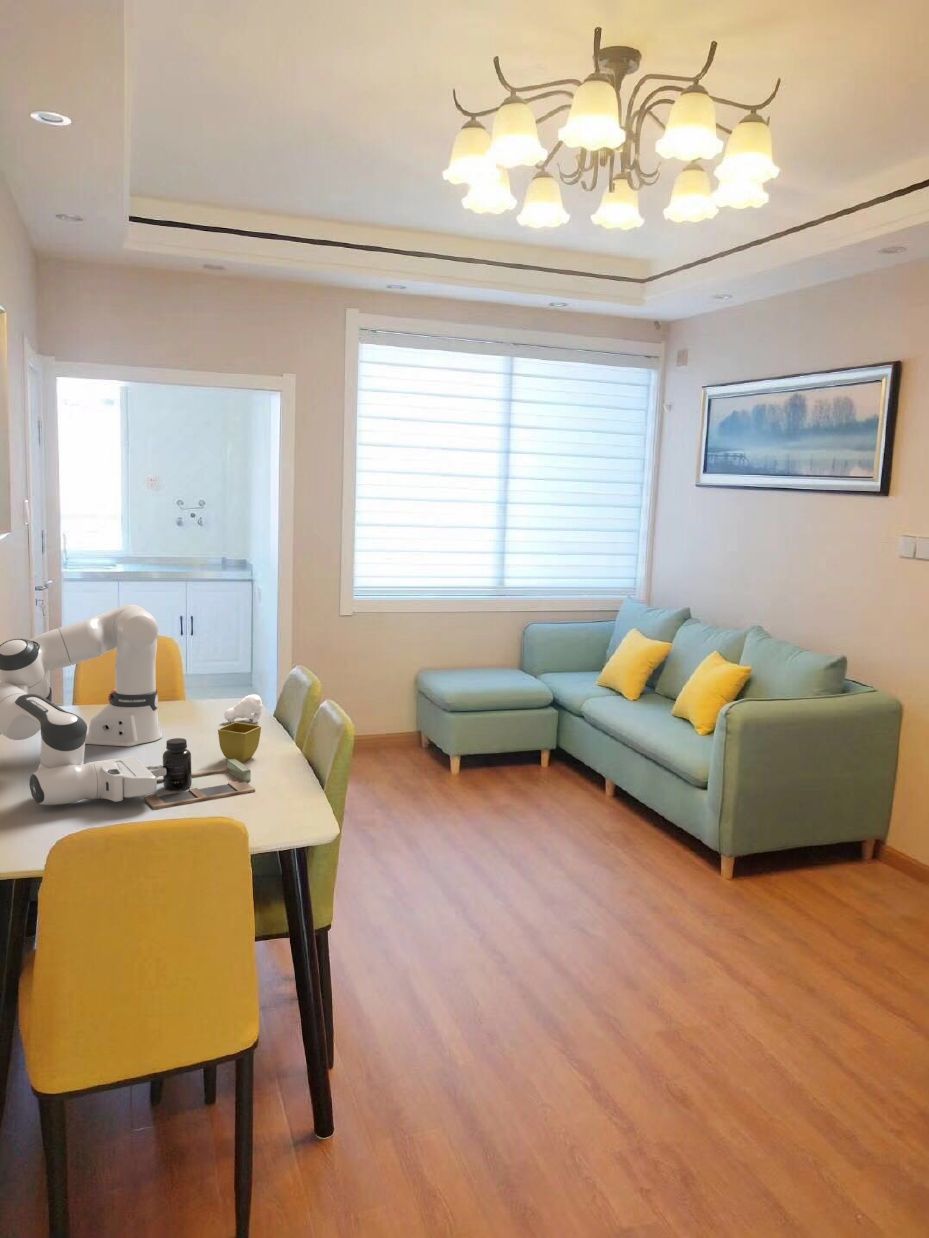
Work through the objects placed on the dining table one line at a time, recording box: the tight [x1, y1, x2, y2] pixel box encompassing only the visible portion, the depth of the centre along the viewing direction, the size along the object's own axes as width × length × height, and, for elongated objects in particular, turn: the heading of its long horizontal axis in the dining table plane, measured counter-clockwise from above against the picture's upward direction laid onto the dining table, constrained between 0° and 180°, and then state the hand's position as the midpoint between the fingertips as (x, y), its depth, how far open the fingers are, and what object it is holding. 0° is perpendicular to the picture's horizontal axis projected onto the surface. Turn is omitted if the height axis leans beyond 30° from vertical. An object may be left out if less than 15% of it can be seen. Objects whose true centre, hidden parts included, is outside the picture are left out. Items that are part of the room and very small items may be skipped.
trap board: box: [143, 759, 256, 810], centre depth 229 cm, size 27×19×3 cm
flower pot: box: [217, 721, 262, 763], centre depth 253 cm, size 9×9×9 cm
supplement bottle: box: [162, 737, 193, 792], centre depth 229 cm, size 7×7×12 cm
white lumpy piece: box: [223, 694, 263, 724], centre depth 291 cm, size 6×8×12 cm
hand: (164, 770), depth 226 cm, fingers closed
